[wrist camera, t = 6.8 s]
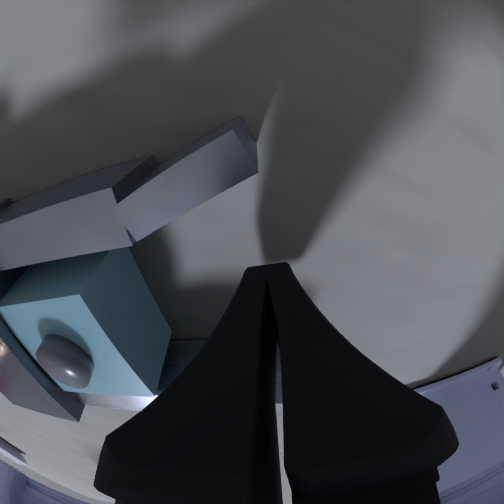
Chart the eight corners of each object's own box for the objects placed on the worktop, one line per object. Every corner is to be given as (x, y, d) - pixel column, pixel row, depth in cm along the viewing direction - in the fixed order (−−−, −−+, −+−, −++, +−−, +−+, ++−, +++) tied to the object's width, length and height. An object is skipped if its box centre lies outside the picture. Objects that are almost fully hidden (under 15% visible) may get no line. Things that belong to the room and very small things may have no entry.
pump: (124, 231, 10) (68, 311, 6) (172, 329, 12) (151, 412, 9) (39, 256, 11) (-14, 319, 7) (89, 336, 13) (59, 402, 9)
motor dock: (251, 114, 8) (250, 145, 3) (287, 359, 13) (296, 456, 9) (-46, 219, 9) (-102, 271, 5) (38, 361, 15) (11, 419, 10)
